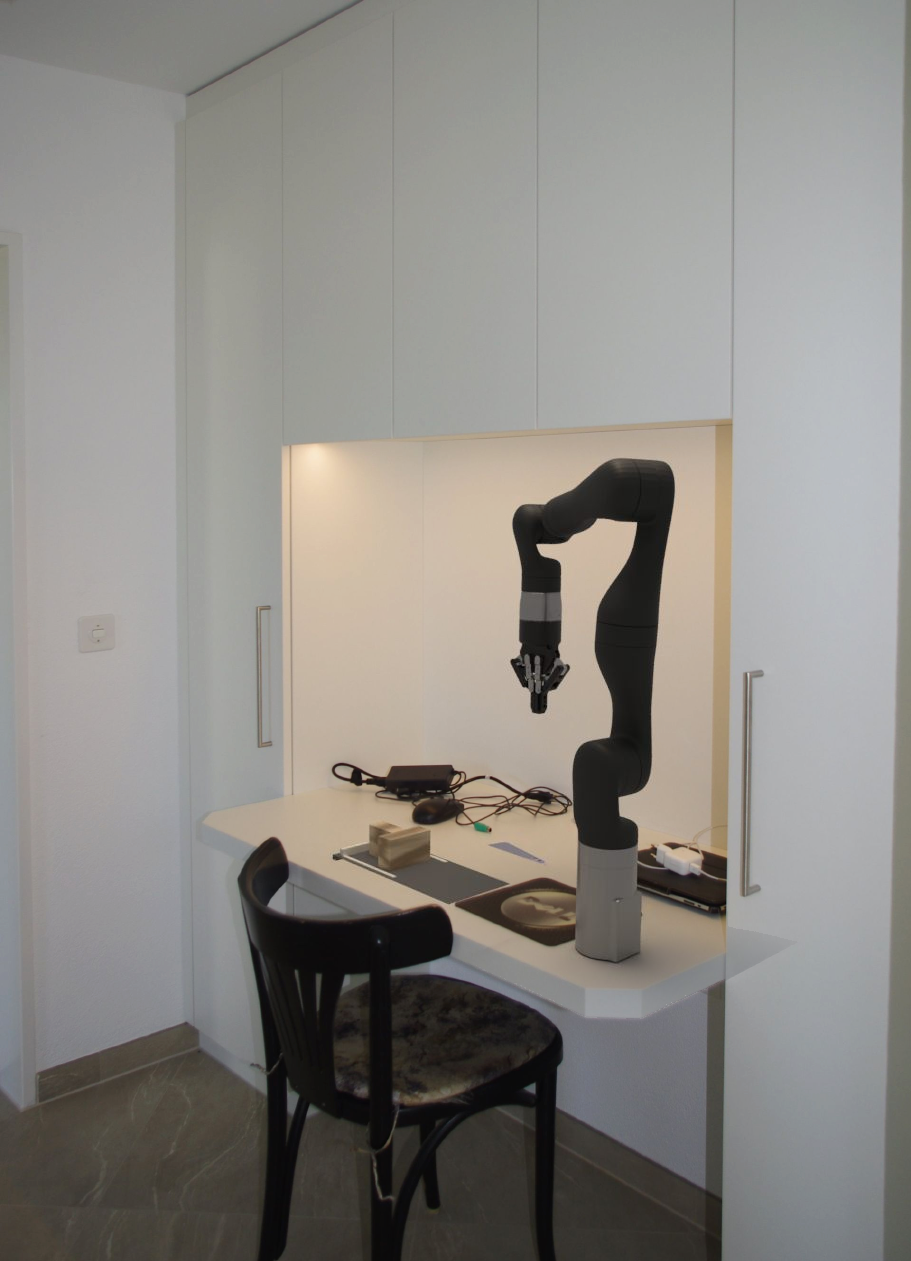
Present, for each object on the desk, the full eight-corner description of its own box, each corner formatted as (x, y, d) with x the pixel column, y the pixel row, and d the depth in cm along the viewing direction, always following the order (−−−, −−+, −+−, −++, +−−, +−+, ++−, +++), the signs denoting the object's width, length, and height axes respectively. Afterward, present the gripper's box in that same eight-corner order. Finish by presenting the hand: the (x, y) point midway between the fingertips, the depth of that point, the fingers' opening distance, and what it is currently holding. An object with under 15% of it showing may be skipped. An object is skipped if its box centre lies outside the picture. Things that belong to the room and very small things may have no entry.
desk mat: (509, 888, 180) (510, 875, 180) (448, 908, 170) (448, 895, 170) (392, 843, 205) (392, 832, 205) (332, 858, 195) (332, 847, 195)
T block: (430, 860, 193) (430, 830, 192) (389, 871, 186) (390, 840, 185) (395, 847, 200) (396, 818, 200) (356, 857, 194) (356, 827, 193)
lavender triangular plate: (506, 840, 206) (548, 861, 193) (506, 844, 206) (548, 866, 193) (475, 845, 202) (515, 867, 190) (475, 850, 203) (515, 872, 190)
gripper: (582, 618, 175) (580, 716, 176) (527, 613, 184) (526, 705, 186) (554, 621, 170) (551, 721, 171) (499, 615, 179) (497, 710, 181)
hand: (538, 712), depth 179 cm, fingers closed
